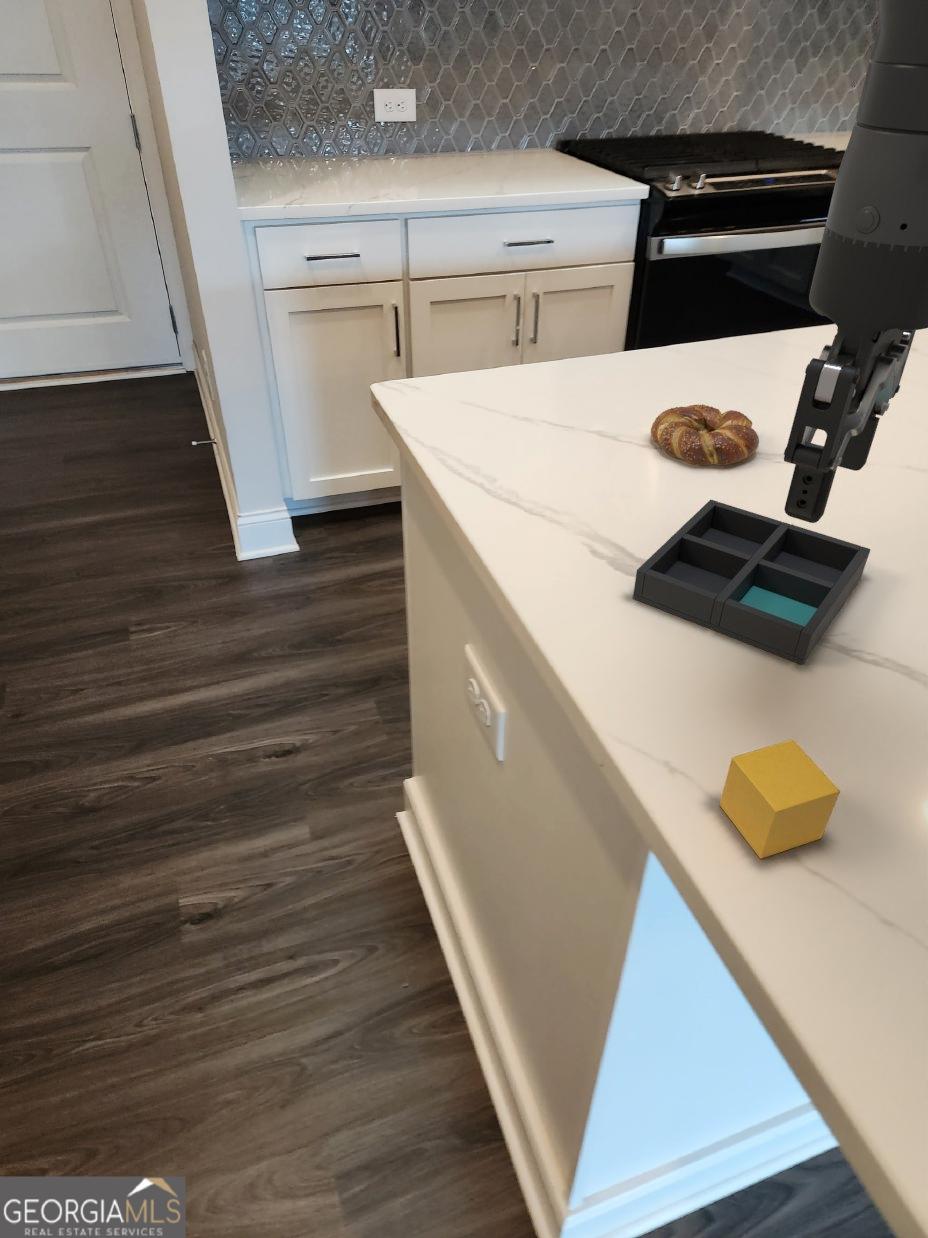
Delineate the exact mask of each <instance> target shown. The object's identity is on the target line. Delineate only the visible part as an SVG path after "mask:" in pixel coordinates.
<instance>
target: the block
mask: <svg viewBox="0 0 928 1238" xmlns="http://www.w3.org/2000/svg"><path fill="white" fill-rule="evenodd" d="M840 793H841V790H840V789H839V788H838V787H837V786H836V785H835V784H834V783H833V781H832V780H831V779H830V778H829V777H828V776H827V775H826V774H825V773H824V772H823V770H822V769H821V768H820V767H819V766H818V765H817V764H816V763H815V762H814V760H813V759H812V758H811V757H810V756H808V754H807V753H806V752H805V751H804V750H803V749H802V748H801V747H800V746H799V744H798V743H797V742H796V741H795V740H794V739H789V740H787V741H783V742H780V743H776V744H773V745H770V746H765V747H762V748H759V749H756V750H752V751H750V752H745V753H742V754H739V755H736V756H733V757H732V758H731V760H730V764H729V767H728V771H727V774H726V779H725V782H724V786H723V790H722V794H721V796H720V797H721V798H720V801H719V806H720V808H721V809H722V810H723V811H724V813H725V814H726V816H727V817H728V818H729V820H731V822H732V823H733V825H734V826H735V827H736V829H737V830H738V831H739V833H740V834H741V835H742V836H743V838H744V839H745V841H746V842H747V844H748V845H749V846H750V847H751V849H752V850H753V851H754V853H755V854H756V855H757V856H758V858H759V859H760V860H761V859H765V858H767V857H770V856H773V855H777V854H779V853H783V852H785V851H788V850H791V849H794V848H797V847H800V846H803V845H806V844H808V843H812V842H815V841H818V840H820V839H822V838H823V836H824V833H825V831H826V828H827V825H828V823H829V820H830V818H831V815H832V813H833V810H834V808H835V805H836V803H837V800H838V799H839V796H840Z"/></svg>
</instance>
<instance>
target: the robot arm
mask: <svg viewBox="0 0 928 1238" xmlns="http://www.w3.org/2000/svg"><path fill="white" fill-rule="evenodd" d="M877 4H878V6H877V7H878V8H877V9H878V10H877V12H878V13H877V14H878V15H877V29H876V33H875V38H874V42H873V45H872V49H871V53H870V55H869V59H870V60H868V64H867V69H866V73H865V77H864V80H863V85H862V89H861V94H860V98H859V101H858V102H859V104H858V106H857V111H856V114H855V122H854V124H853V127H852V130H851V134H850V137H849V140H848V143H847V146H846V149H845V152H844V153H843V156H842V159H841V162H840V165H839V168H838V171H837V175H836V179H835V183H834V187H833V190H832V196H831V199H830V205H829V209H828V213H827V218H826V222H825V226H824V230H823V233H822V239H821V243H820V248H819V253H818V254H817V255H818V256H817V260H816V264H815V268H814V272H813V277H812V282H811V286H810V290H809V295H808V302H809V305H810V307H811V308H812V309H813V310H814V311H815V313H817V314H818V315H819V316H822V317H823V318H828V319H830V320H831V321H832V322H833V323H834V324H835V325H836V328H837V329H836V331H837V332H836V334H835V335H834V337H833V340H832V344H825V345H824V347H823V348H822V350H821V353H820V355H819V357H818V358H815V357H813V358H811V360H810V361H809V363H808V364H807V365H806V368H805V371H804V373H805V375H804V379H803V382H802V386H801V391H800V394H799V398H798V402H797V405H796V409H795V414H794V417H793V421H792V425H791V428H790V433H789V437H788V439H787V440H788V441H787V444H786V447H785V448H784V451H783V455H784V456H783V461H784V462H785V463H789V464H793V465H794V469H793V474H792V477H791V481H790V485H789V489H788V493H787V496H786V500H785V505H784V512H785V514H786V515H787V516H788V517H791V518H794V519H798V520H800V521H803V522H806V523H810V524H816V523H818V522H819V521H820V520H821V518H822V517H823V516H824V514H825V511H826V507H827V504H828V501H829V498H830V493H831V491H832V487H833V483H834V480H835V476H836V473H837V469H838V467H839V468H843V469H846V470H850V471H856V472H858V471H860V470H862V469H863V467H864V466H865V465H866V463H867V462H868V457H869V455H870V452H871V448H872V445H873V442H874V439H875V435H876V432H877V429H878V425H879V422H880V419H881V417H883V416H884V415H885V413H886V412H888V410H889V408H890V403H889V402H890V400H891V399H894V397H895V396H896V394H898V393H899V391H900V389H901V385H900V384H901V380H902V377H903V373H904V371H905V367H906V364H907V360H908V358H909V354H910V352H911V351H910V350H911V347H912V345H913V341H914V337H915V334H916V331H918V330H919V331H920V330H925V329H928V0H877ZM878 416H881V417H878ZM818 430H820V431H824V432H825V434H826V439H825V441H824V445H820V444H816V443H813V442H812V441H813V440H814V436H815V434H816V432H817V431H818Z"/></svg>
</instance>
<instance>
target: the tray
mask: <svg viewBox="0 0 928 1238" xmlns="http://www.w3.org/2000/svg"><path fill="white" fill-rule="evenodd" d="M870 553H871V548H869V547H866V546H862V545H859V544H856V543H853V542H849V541H846V540H843V539H839V538H837V537H833V536H830V535H827V534H824V533H821V532H817V531H814V530H811V529H809V528H808V529H807V528H805V527H801V526H798V525H794V524H791V523H789V522H785V521H781V520H778V519H775V518H772V517H768V516H765V515H762V514H760V513H755V512H752V511H749V510H746V509H743V508H739V507H736V506H733V505H730V504H727V503H723V502H720V501H718V500H714V499H709V500H708V501H707V502H706V503H705V504H704V505H703V506H702V507H701V508H700V509H699V510H698V511H696V513H695V514H693V516H691V518H689V520H687V521H686V522H685V523H684V524H683V525H682V526H681V527H680V528H679V529H678V530H677V531H676V532H675V533H674V534H673V535H672V536H670V537H669V539H667V540H666V542H665V543H663V544H662V545H661V546H660V547H659V548H658V549H657V550H656V551H655V552H654V553H652V554H651V556H649V558H648V559H647V560H646V561H644V563H642V564H641V565H640V566H639V567H638V568H637V569H636V571H635V581H634V587H633V595H632V599H634V600H636V601H639V602H641V603H644V604H647V605H649V606H652V607H654V608H656V609H659V610H661V611H664V612H667V613H669V614H672V615H674V616H677V617H680V618H682V619H684V620H687V621H689V622H692V623H695V624H697V625H700V626H702V627H705V628H708V629H710V630H713V631H715V632H717V633H720V634H722V635H725V636H727V637H731V638H733V639H736V640H738V641H740V642H743V643H745V644H747V645H750V646H754V647H756V648H759V649H761V650H763V651H766V652H768V653H771V654H773V655H776V656H779V657H782V658H784V659H787V660H789V661H791V662H794V663H796V664H799V665H802V666H803V665H804V664H805V662H806V661H807V659H808V658H809V656H810V655H811V653H812V651H813V650H814V649H815V647H816V646H817V644H818V643H819V641H820V640H821V638H822V636H824V633H825V632H826V631H827V630H828V628H829V627H830V625H831V623H832V621H833V620H834V619H835V617H836V616H837V614H838V613H839V611H840V610H841V608H842V607H843V605H844V604H845V602H846V601H847V599H848V598H849V596H851V593H852V592H853V590H854V589H855V587H856V586H857V584H858V583H859V581H860V580H861V578H862V576H863V573H864V571H865V567H866V565H867V562H868V558H869V555H870Z"/></svg>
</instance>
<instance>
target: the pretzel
mask: <svg viewBox="0 0 928 1238" xmlns="http://www.w3.org/2000/svg"><path fill="white" fill-rule="evenodd" d="M752 427H753V421H752V420H751V419H750V418H749V417H748V416H747V415H745V414H744V413H743V412H741V411H737V410H733V409H732V410H731V409H730V410H726V411H725V412H723V413H722V412H721V411H720V409H719V408H716V407H714V406H710V405H706V404H699V403H698V404H691V405H687V406H676V407H671V408H667V409H665V410H664V411H662V412H661V413H659V415H657V417H656V418H655V420H654V421H653V423H652V425H651V428H650V435H651V439H652V441H653V442H654V444H655V445H657V446H659V447H660V448H662V451H663V452H664V453H665V454H666V455H668V456H670V457H672V458H677V459H683V461H685V462H686V463H688V464H691V465H697V466H706V465H714V464H715V465H717V466H719V465H720V466H723V465H730V464H731V465H732V464H736V463H738V462H741V461H742V460H744V459H748V458H749V457H751V456H752V455H753V454H754V453H755V452H756V451H757V450H758V448H759V444H760V438H759V436H758V435H759V434H758V433H757V431H756V430H755V429H754V428H752Z"/></svg>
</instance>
